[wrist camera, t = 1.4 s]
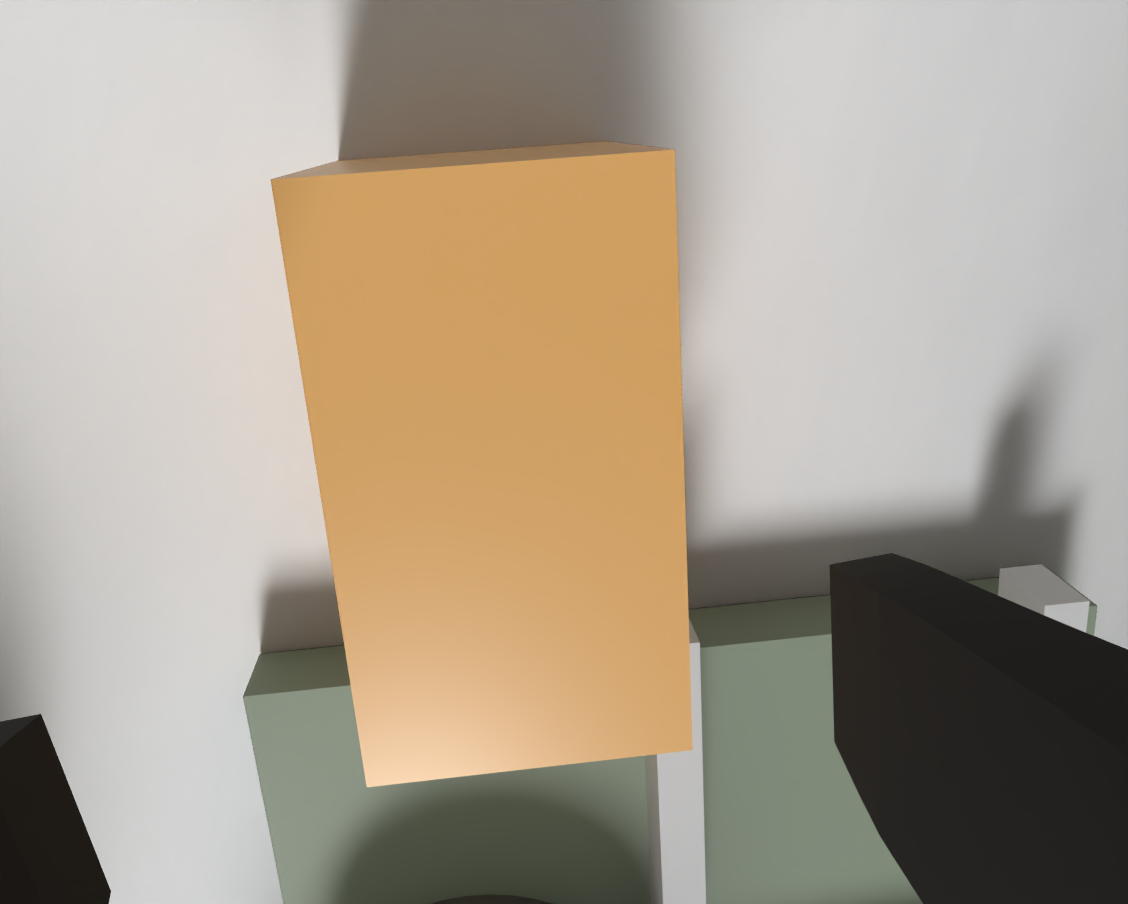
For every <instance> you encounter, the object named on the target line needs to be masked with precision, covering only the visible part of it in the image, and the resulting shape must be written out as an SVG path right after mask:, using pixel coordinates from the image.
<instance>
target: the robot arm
mask: <svg viewBox="0 0 1128 904" xmlns="http://www.w3.org/2000/svg"><path fill="white" fill-rule="evenodd" d="M830 597H831V635H832V674H833V712H834V742H835V744H836V746H837V749H838V751H839V753H840V755H841V757H842V759H843V761H844V764H845V766H846V768H847V770H848V772H849V774H850V776H851V779H852V781H853V783H854V785H855V787H856V789H857V791H858V794H859V796H860V798H861V800H862V802H863V804H864V805H865V807H866V809H867V811H868V813H869V815H870V817H871V819H872V821H873V823H874V825H875V827H876V829H877V831H878V833H879V835H880V837H881V839H882V840H883V842H884V843H885V845H886V847H887V848H888V850H889V851H890V853H891V855H892V856H893V858H894V859H895V861H896V862H897V864H898V866H899V867H900V869H901V870H902V872H903V873H904V875H905V876H906V878H907V879H908V881H909V883H910V884H911V886H912V887H913V889H914V890H915V892H916V893H917V895H918V897H919V898H920V900H921V901H922V903H923V904H1128V650H1127V649H1125V648H1122V647H1120V646H1117V645H1115V644H1112V643H1110V642H1107V641H1105V640H1102V639H1100V638H1098V637H1095V636H1093V635H1090V634H1088V633H1085V632H1083V631H1081V630H1078V629H1076V628H1073V627H1071V626H1069V625H1066V624H1064V623H1061V622H1059V621H1057V620H1054V619H1052V618H1050V617H1047V616H1045V615H1042V614H1040V613H1038V612H1035V611H1033V610H1031V609H1028V608H1026V607H1024V606H1021V605H1019V604H1017V603H1014V602H1012V601H1010V600H1007V599H1005V598H1003V597H1000V596H998V595H996V594H993V593H991V592H989V591H987V590H984V589H982V588H980V587H977V586H975V585H973V584H970V583H968V582H966V581H963V580H961V579H958V578H956V577H954V576H951V575H949V574H946V573H944V572H942V571H939V570H937V569H934V568H932V567H929V566H927V565H924V564H922V563H919V562H916V561H913V560H911V559H908V558H905V557H902V556H899V555H896V554H892V553H890V554H885V555H879V556H874V557H869V558H863V559H858V560H853V561H848V562H842V563H837V564H832V565H830ZM110 893H111V890H110V888H109V885H108V883H107V880H106V878H105V875H104V873H103V870H102V868H101V865H100V862H99V860H98V857H97V855H96V852H95V850H94V847H93V845H92V842H91V840H90V837H89V835H88V832H87V830H86V827H85V824H84V822H83V819H82V817H81V814H80V812H79V809H78V807H77V804H76V802H75V799H74V797H73V794H72V792H71V789H70V786H69V784H68V781H67V779H66V776H65V774H64V771H63V769H62V766H61V764H60V761H59V759H58V756H57V754H56V751H55V748H54V746H53V743H52V741H51V738H50V736H49V733H48V731H47V728H46V726H45V723H44V721H43V718H42V716H41V714H39V715H33V716H28V717H23V718H18V719H12V720H7V721H2V722H0V904H109V899H110Z"/></svg>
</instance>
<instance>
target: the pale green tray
mask: <svg viewBox="0 0 1128 904" xmlns="http://www.w3.org/2000/svg"><path fill="white" fill-rule="evenodd" d="M966 582H968V583H970V584H973V585H975V586H977V587H980V588H982V589H984V590H987V591H989V592H991V593H993V594H996V595H998V596H1000V597H1003V598H1005V599H1007V600H1010V601H1012V602H1014V603H1017V604H1019V605H1021V606H1024V607H1026V608H1028V609H1031V610H1033V611H1035V612H1038V613H1040V614H1042V615H1045V616H1047V617H1050V618H1052V619H1054V620H1057V621H1059V622H1061V623H1064V624H1066V625H1069V626H1071V627H1073V628H1076V629H1078V630H1081V631H1083V632H1085V633H1088V634H1090V635H1093V636H1094V629H1095V621H1096V613H1097V605H1096V604H1094V603H1093V602H1092V601H1091V600H1089V599H1088V598H1087V597H1085V596H1084V595H1083V594H1081V593H1080V592H1079V591H1077V590H1076V589H1075V588H1073V587H1072V586H1071V585H1070V584H1068V583H1067V582H1066V581H1064V580H1063V579H1062V578H1060V577H1059V576H1058V575H1056V574H1055V573H1054V572H1051V571H1050V570H1048V569H1047V568H1046V567H1044V566H1043V565H1042V564H1039V565H1029V566H1019V567H1010V568H1000V575H999V578H989V579H979V580H970V581H966ZM688 611H689V645H690V679H691V713H692V747H693V750H690V751H681V752H672V753H663V754H655V755H646V756H637V757H628V758H620V759H611V760H602V761H593V762H585V763H576V764H567V765H558V766H550V767H541V768H532V769H523V770H515V771H506V772H497V773H489V774H480V775H471V776H462V777H454V778H445V779H436V780H427V781H419V782H410V783H401V784H392V785H384V786H375V787H367V786H366V780H365V773H364V767H363V761H362V754H361V748H360V742H359V735H358V729H357V723H356V716H355V710H354V704H353V697H352V691H351V685H350V678H349V672H348V666H347V659H346V653H345V647H344V645H343V646H333V647H324V648H314V649H305V650H295V651H285V652H276V653H266V654H260V655H259V657H258V660H257V662H256V665H255V668H254V670H253V673H252V675H251V678H250V680H249V683H248V685H247V688H246V690H245V693H244V696H243V699H244V704H245V709H246V714H247V719H248V724H249V729H250V735H251V740H252V745H253V750H254V755H255V760H256V765H257V770H258V775H259V780H260V785H261V791H262V796H263V801H264V806H265V811H266V816H267V821H268V826H269V831H270V836H271V841H272V847H273V852H274V857H275V862H276V867H277V872H278V877H279V882H280V887H281V892H282V897H283V902H284V904H923V903H922V901H921V900H920V898H919V897H918V895H917V893H916V892H915V890H914V889H913V887H912V886H911V884H910V883H909V881H908V879H907V878H906V876H905V875H904V873H903V872H902V870H901V869H900V867H899V866H898V864H897V862H896V861H895V859H894V858H893V856H892V855H891V853H890V851H889V850H888V848H887V847H886V845H885V843H884V842H883V840H882V839H881V837H880V835H879V833H878V831H877V829H876V827H875V825H874V823H873V821H872V819H871V817H870V815H869V813H868V811H867V809H866V807H865V805H864V804H863V802H862V800H861V798H860V796H859V794H858V791H857V789H856V787H855V785H854V783H853V781H852V779H851V776H850V774H849V772H848V770H847V768H846V766H845V764H844V761H843V759H842V757H841V755H840V753H839V751H838V749H837V746H836V744H835V742H834V712H833V674H832V635H831V597H830V595H825V596H815V597H806V598H796V599H786V600H777V601H767V602H758V603H748V604H738V605H729V606H719V607H709V608H700V609H690V610H688Z"/></svg>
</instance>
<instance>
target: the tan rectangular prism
mask: <svg viewBox="0 0 1128 904" xmlns="http://www.w3.org/2000/svg"><path fill="white" fill-rule="evenodd" d="M271 185H272V191H273V197H274V204H275V210H276V216H277V223H278V229H279V235H280V242H281V248H282V254H283V261H284V267H285V273H286V280H287V286H288V292H289V299H290V305H291V311H292V317H293V324H294V330H295V336H296V343H297V349H298V355H299V362H300V368H301V374H302V381H303V387H304V393H305V400H306V406H307V412H308V419H309V425H310V431H311V438H312V444H313V450H314V457H315V463H316V469H317V476H318V482H319V488H320V495H321V501H322V507H323V514H324V520H325V526H326V533H327V539H328V545H329V552H330V558H331V564H332V571H333V577H334V583H335V590H336V596H337V602H338V609H339V615H340V621H341V628H342V634H343V640H344V647H345V653H346V659H347V666H348V672H349V678H350V685H351V691H352V697H353V704H354V710H355V716H356V723H357V729H358V735H359V742H360V748H361V754H362V761H363V767H364V773H365V780H366V786H367V787H375V786H384V785H392V784H401V783H410V782H419V781H427V780H436V779H445V778H454V777H462V776H471V775H480V774H489V773H497V772H506V771H515V770H523V769H532V768H541V767H550V766H558V765H567V764H576V763H585V762H593V761H602V760H611V759H620V758H628V757H637V756H646V755H655V754H663V753H672V752H681V751H690V750H693V747H692V713H691V679H690V645H689V611H688V578H687V544H686V510H685V476H684V443H683V409H682V375H681V341H680V307H679V274H678V240H677V206H676V172H675V150H674V149H666V148H658V147H650V146H642V145H634V144H626V143H617V142H609V141H600V142H586V143H572V144H558V145H545V146H531V147H517V148H504V149H490V150H476V151H463V152H449V153H435V154H421V155H408V156H394V157H380V158H367V159H353V160H339V161H335V162H331V163H328V164H324V165H321V166H317V167H314V168H310V169H306V170H303V171H299V172H296V173H292V174H288V175H285V176H281V177H278V178H274V179H271Z"/></svg>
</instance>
